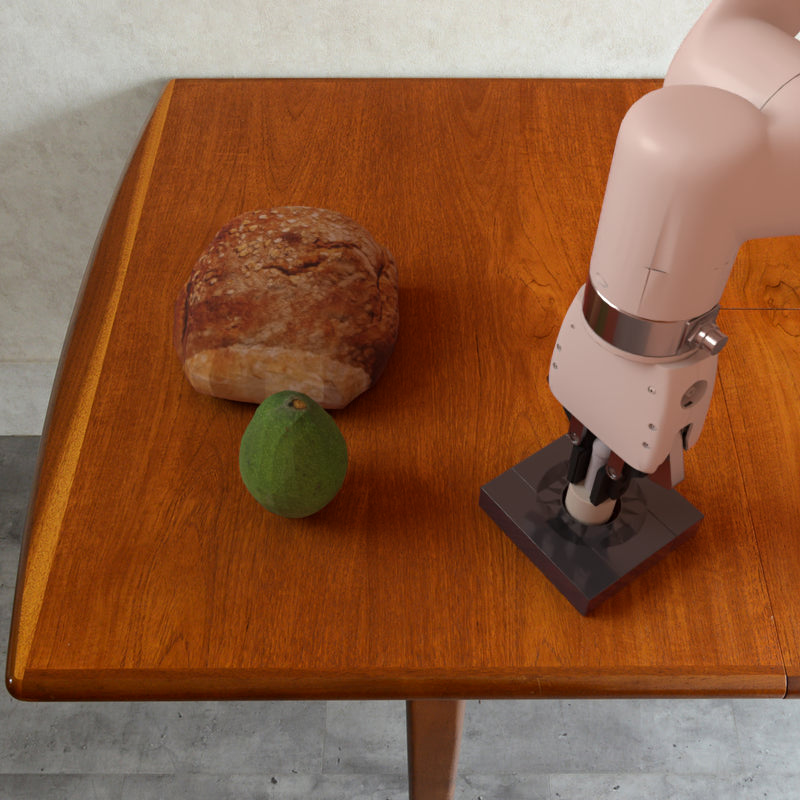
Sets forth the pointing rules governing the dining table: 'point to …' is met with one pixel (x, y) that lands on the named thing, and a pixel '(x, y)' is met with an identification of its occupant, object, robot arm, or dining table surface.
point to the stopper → (580, 492)
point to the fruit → (292, 455)
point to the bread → (288, 308)
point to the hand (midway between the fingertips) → (595, 483)
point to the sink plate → (585, 527)
